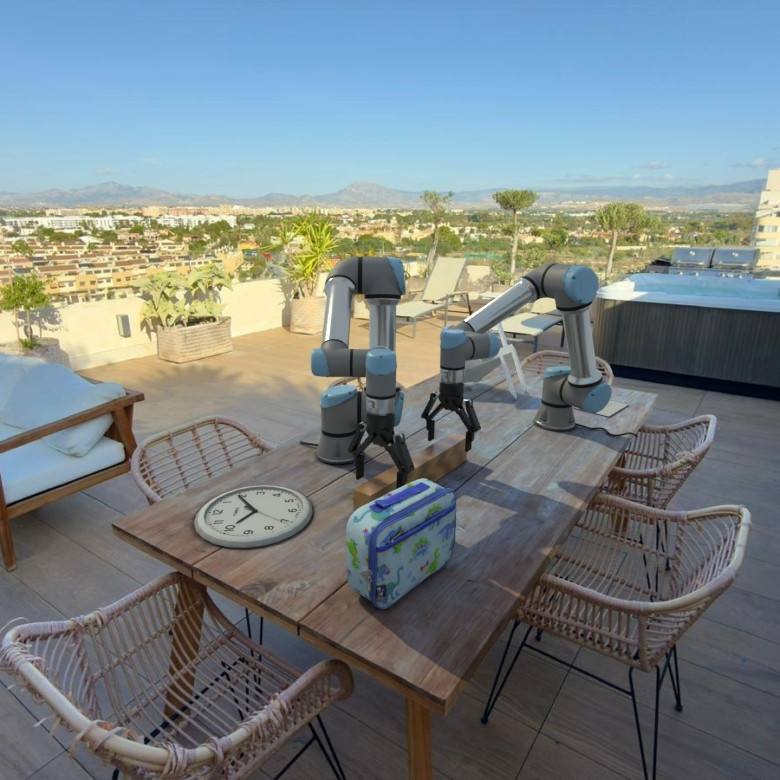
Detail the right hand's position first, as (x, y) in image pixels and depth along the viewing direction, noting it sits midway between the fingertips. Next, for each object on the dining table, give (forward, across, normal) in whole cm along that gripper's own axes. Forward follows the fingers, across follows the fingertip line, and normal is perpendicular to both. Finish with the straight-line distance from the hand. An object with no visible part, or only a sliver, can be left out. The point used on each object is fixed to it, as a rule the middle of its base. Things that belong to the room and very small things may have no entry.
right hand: (449, 445), depth 166 cm
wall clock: (+6, -24, -58) cm, 63 cm away
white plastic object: (+8, -29, +77) cm, 82 cm away
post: (+7, 0, -18) cm, 19 cm away
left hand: (-1, 0, -35) cm, 35 cm away
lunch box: (+6, +22, -56) cm, 60 cm away
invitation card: (+9, +22, +92) cm, 95 cm away
